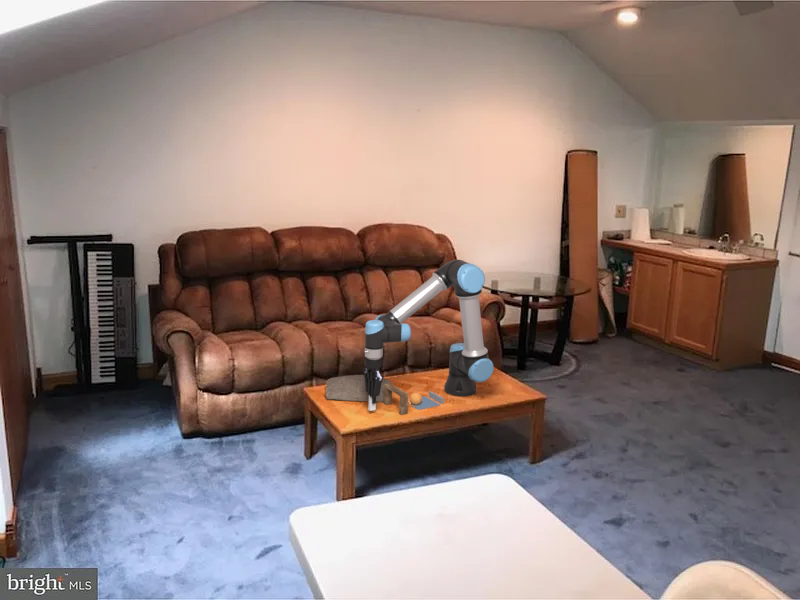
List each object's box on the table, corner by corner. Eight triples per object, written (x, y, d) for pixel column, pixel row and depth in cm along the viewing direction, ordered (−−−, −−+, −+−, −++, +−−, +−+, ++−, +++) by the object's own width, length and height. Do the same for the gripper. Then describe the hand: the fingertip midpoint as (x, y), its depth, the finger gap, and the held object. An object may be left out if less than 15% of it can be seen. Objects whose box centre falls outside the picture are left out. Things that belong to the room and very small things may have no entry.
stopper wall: (430, 396, 313) (431, 391, 313) (443, 403, 305) (444, 398, 305) (428, 396, 313) (428, 391, 312) (441, 403, 305) (441, 398, 304)
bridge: (389, 402, 304) (390, 383, 302) (407, 413, 292) (408, 393, 290) (383, 403, 302) (384, 384, 300) (401, 415, 290) (402, 394, 288)
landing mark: (424, 396, 313) (424, 396, 313) (440, 405, 303) (440, 404, 303) (403, 401, 306) (403, 400, 306) (418, 410, 297) (418, 409, 296)
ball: (406, 393, 302) (407, 404, 304) (413, 397, 298) (414, 408, 299) (416, 389, 305) (417, 400, 307) (423, 393, 300) (424, 404, 302)
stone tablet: (324, 402, 303) (391, 403, 303) (324, 384, 301) (392, 386, 301) (328, 387, 322) (391, 388, 323) (328, 370, 321) (391, 371, 321)
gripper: (358, 353, 288) (356, 406, 293) (373, 362, 278) (372, 416, 283) (373, 351, 292) (371, 403, 297) (389, 360, 282) (387, 413, 287)
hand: (372, 409), depth 290 cm, fingers closed
